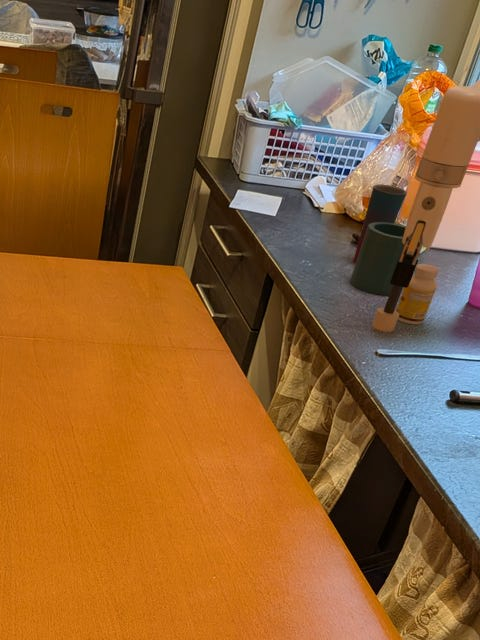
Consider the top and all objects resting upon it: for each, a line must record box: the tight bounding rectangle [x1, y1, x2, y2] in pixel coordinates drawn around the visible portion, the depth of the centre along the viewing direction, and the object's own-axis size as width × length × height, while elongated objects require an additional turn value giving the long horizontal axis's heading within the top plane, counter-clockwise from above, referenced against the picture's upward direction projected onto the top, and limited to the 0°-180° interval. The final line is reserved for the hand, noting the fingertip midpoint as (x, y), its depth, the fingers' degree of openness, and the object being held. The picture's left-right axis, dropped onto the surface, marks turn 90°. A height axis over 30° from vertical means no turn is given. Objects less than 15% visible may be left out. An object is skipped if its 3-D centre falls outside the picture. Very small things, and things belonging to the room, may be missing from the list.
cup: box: [353, 183, 408, 264], centre depth 197 cm, size 7×7×15 cm
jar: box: [349, 222, 406, 296], centre depth 187 cm, size 10×10×11 cm
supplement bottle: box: [395, 263, 440, 326], centre depth 174 cm, size 5×5×10 cm
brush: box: [371, 248, 417, 333], centre depth 168 cm, size 4×4×14 cm
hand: (400, 282), depth 167 cm, fingers closed
